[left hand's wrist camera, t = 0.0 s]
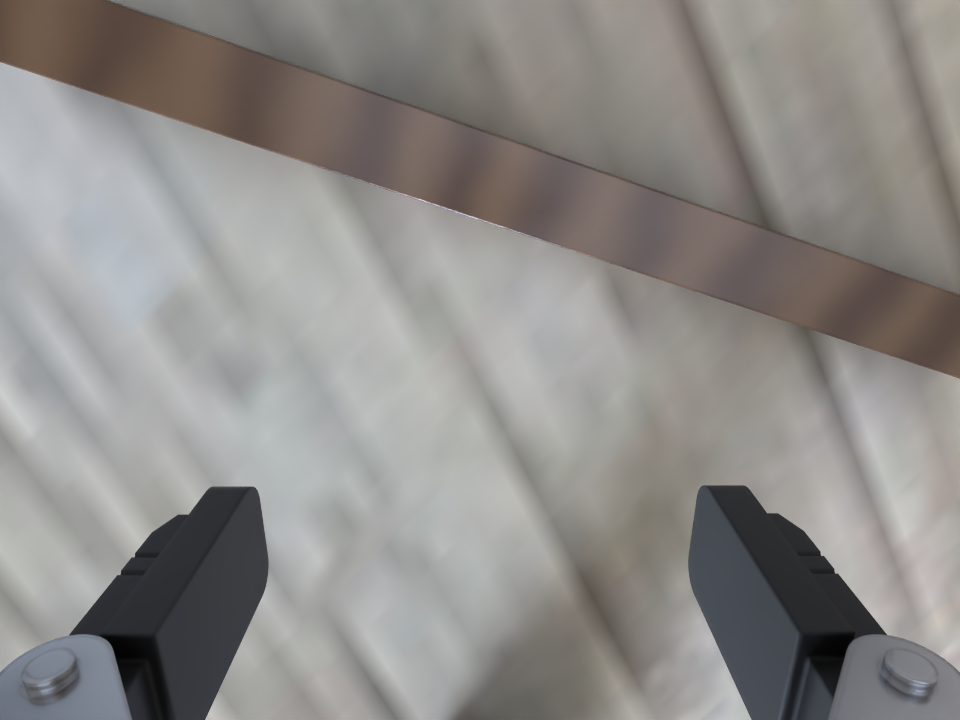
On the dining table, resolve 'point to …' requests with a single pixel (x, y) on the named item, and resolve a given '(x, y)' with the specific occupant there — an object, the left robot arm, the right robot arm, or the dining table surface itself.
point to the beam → (476, 174)
